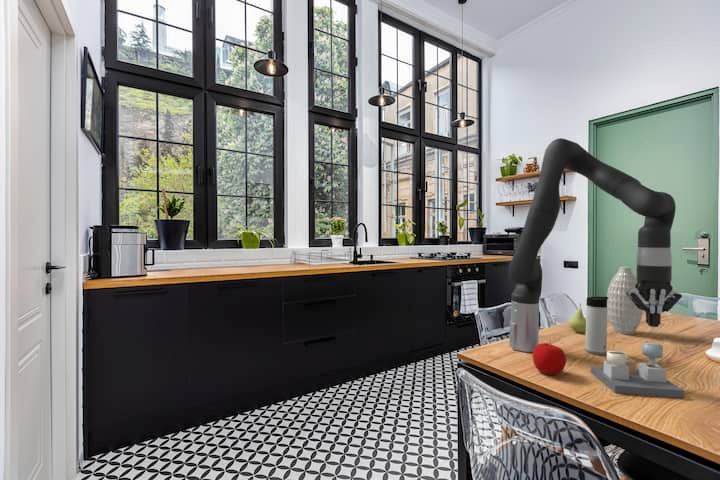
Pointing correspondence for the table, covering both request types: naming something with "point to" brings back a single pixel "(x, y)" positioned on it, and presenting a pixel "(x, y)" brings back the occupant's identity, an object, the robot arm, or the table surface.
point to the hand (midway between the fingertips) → (653, 326)
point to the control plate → (637, 380)
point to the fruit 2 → (578, 322)
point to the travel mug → (596, 325)
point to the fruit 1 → (549, 359)
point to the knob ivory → (616, 358)
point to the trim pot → (631, 365)
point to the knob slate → (652, 352)
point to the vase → (623, 303)
